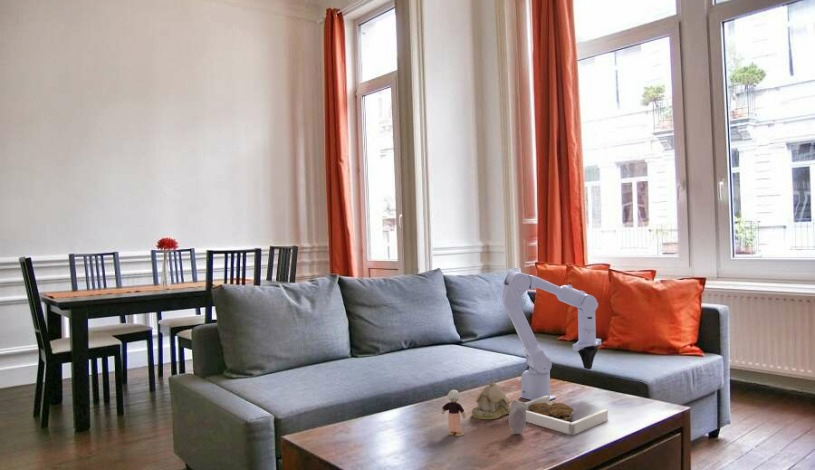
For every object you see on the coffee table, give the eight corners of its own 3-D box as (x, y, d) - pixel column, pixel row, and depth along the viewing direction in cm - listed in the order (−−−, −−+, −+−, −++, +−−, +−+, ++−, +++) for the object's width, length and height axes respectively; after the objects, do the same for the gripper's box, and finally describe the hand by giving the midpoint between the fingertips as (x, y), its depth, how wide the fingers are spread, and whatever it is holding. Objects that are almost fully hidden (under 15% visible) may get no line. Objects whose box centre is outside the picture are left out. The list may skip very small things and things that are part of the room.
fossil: (512, 438, 167) (511, 402, 167) (504, 434, 170) (503, 399, 170) (528, 434, 170) (527, 399, 169) (521, 431, 173) (520, 396, 172)
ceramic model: (484, 405, 199) (484, 375, 199) (516, 409, 193) (515, 379, 193) (465, 417, 187) (465, 385, 187) (499, 422, 181) (498, 389, 181)
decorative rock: (585, 422, 181) (552, 410, 194) (585, 408, 181) (552, 398, 194) (556, 426, 176) (524, 414, 189) (556, 412, 176) (524, 401, 189)
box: (510, 417, 185) (510, 407, 185) (546, 404, 197) (546, 395, 197) (572, 435, 168) (572, 424, 168) (607, 420, 180) (607, 410, 180)
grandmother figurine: (468, 432, 172) (467, 389, 172) (465, 437, 169) (464, 392, 169) (443, 430, 175) (442, 387, 175) (439, 434, 171) (438, 390, 171)
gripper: (585, 333, 197) (586, 374, 198) (608, 327, 207) (609, 366, 207) (566, 330, 203) (567, 370, 203) (590, 325, 212) (591, 363, 212)
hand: (587, 368), depth 205 cm, fingers closed
